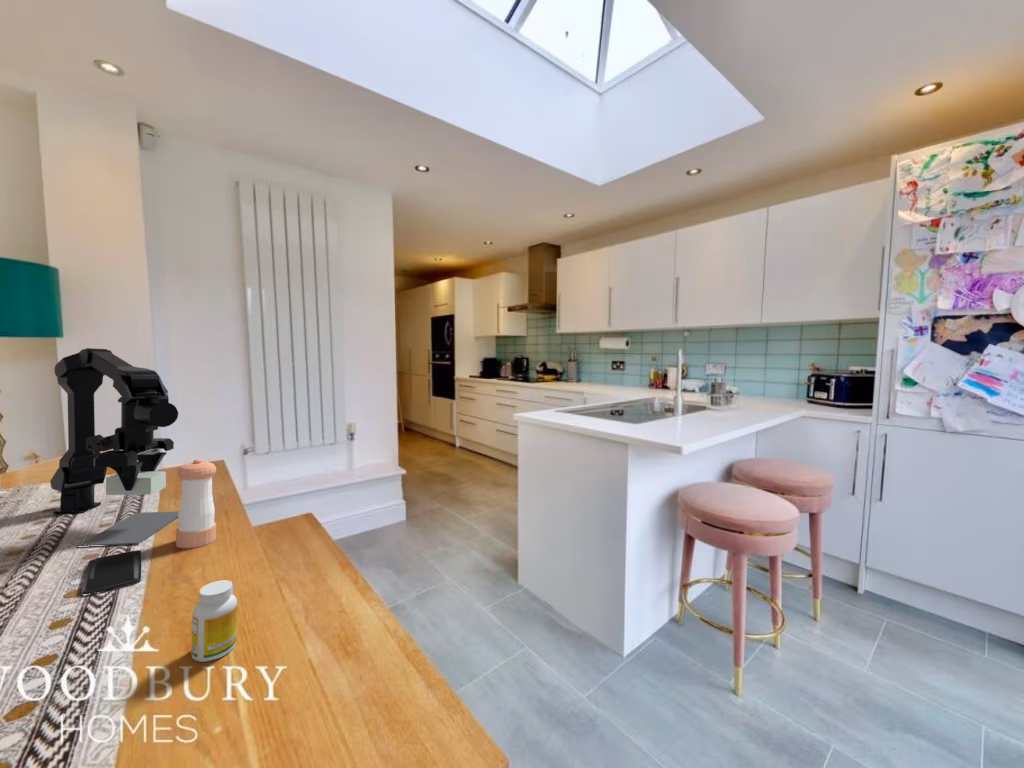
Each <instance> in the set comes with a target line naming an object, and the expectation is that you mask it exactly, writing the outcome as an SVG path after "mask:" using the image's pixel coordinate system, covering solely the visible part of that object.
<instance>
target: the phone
mask: <svg viewBox="0 0 1024 768" xmlns="http://www.w3.org/2000/svg"><path fill="white" fill-rule="evenodd" d="M84 574H85V576H84V580H83V583H82V587H81V592H80V593H82V594H89V593H90V594H91V593H97V592H103V591H107V590H111V591H114V590H118V589H124V588H126V587H127V588H128V587H131V586H135V585H137V583H138V584H139V582H140V581H142V550H140V549H139V550H138V549H136V550H132V551H127V552H122V553H116V554H111V555H107V556H102V557H95V558H92V559H91V560H89V561H88V562H87V566H86V569H85V573H84ZM140 583H141V582H140ZM113 589H114V590H113ZM103 593H104V592H103Z"/></svg>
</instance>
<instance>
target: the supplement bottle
mask: <svg viewBox="0 0 1024 768" xmlns="http://www.w3.org/2000/svg"><path fill="white" fill-rule="evenodd" d="M233 588H234V587H233V582H232V581H231V580H225V579H224V580H223V579H221V580H217V581H216V580H215V581H212V582H210V583H207V584H205V585H204V586H201V588H200V589H199V592H198V602H197V603H196V604H195V605H194V606H193V609H192V612H191V613H192V616H191V648H190V649H191V657H192V659H193V660H194V661H197V662H200V663H201V662H202V663H203V662H204V663H205V662H211V661H214V660H218V659H220V658H223V657H224V656H226V655H227V654H228V653H230V652H231V651H232V650H233V649H234V647H235V646H236V642H237V630H238V629H237V623H238V598H237V597H236V595H234V594H233V591H234V589H233Z"/></svg>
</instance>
